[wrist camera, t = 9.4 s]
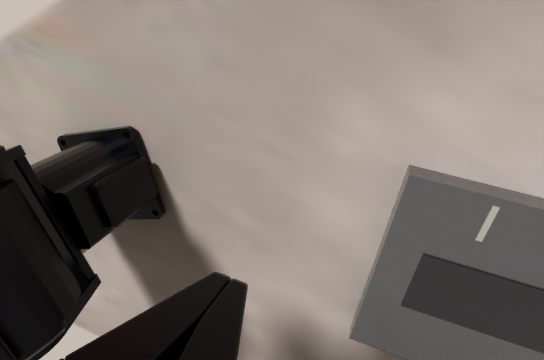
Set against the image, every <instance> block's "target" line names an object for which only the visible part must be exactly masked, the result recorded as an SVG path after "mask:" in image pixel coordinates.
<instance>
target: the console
mask: <svg viewBox="0 0 544 360" xmlns="http://www.w3.org/2000/svg"><path fill="white" fill-rule="evenodd" d="M350 339H353V340H355V341H358V342H361V343H363V344H366V345H369V346H372V347H374V348H377V349H380V350H383V351H385V352H388V353H391V354H394V355H396V356H399V357H402V358H405V359H407V360H544V199H542V198H538V197H535V196H531V195H527V194H523V193H519V192H515V191H511V190H507V189H503V188H499V187H495V186H491V185H487V184H483V183H479V182H475V181H471V180H467V179H463V178H459V177H455V176H451V175H447V174H443V173H439V172H435V171H431V170H427V169H423V168H419V167H415V166H411V165H409V167H408V170H407V172H406V175H405V178H404V181H403V183H402V186H401V189H400V192H399V194H398V197H397V200H396V203H395V206H394V208H393V211H392V214H391V217H390V219H389V222H388V225H387V228H386V230H385V233H384V236H383V239H382V242H381V244H380V247H379V250H378V253H377V255H376V258H375V261H374V264H373V267H372V269H371V272H370V275H369V278H368V280H367V283H366V286H365V289H364V291H363V294H362V297H361V300H360V303H359V305H358V308H357V311H356V314H355V316H354V319H353V322H352V326H351V332H350Z"/></svg>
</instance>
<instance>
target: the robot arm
mask: <svg viewBox="0 0 544 360" xmlns="http://www.w3.org/2000/svg"><path fill="white" fill-rule="evenodd" d="M128 133H129V135H130V137H129V136H128ZM57 142H58V145H59V147H60V149H61V152H59V153H57V154H54V155H52V156H50V157H48V158H46V159H43V160H41V161H39V162H37V163H35V164H32V165H30V164H29V162H28V161H27V159H26V157H25V155H26V153H25V152H24V150H23V148H22V147H21V145H18V146H15V147H12V148H8V149H5V148H4V146H1V145H0V360H38V359H40V358H41V357H43V356H44V355H45V354H46V353H48V352H49V351H50V350H51V349H52V348H53V347H54V346H55V345H56V344H57V343H58V342H59V341H60V340H61V339H62V338H63V336H64V335H65V334H66V332H67V331H68V329H69V328H70V327H71V325H72V324H73V322H74V321H75V319H76V318H77V316H78V315H79V314H80V312H81V311H82V309H83V308H84V306H85V305H86V303H87V302H88V300H89V299H90V298H91V296H92V295H93V293H94V292H95V290H96V289H97V287H98V286H99V285H100V283H101V281H100V279H99V277H98V275H97V274H94V272H93V270H92V269H91V267H90V265H89V264H88V262H87V260H86V259H85V257H84V255H83V253H84V252H86V251H87V250H88V249H90V248H91V247H93V246H94V245H95V244H96V243H98V242H99V241H100V240H101V239H103V238H104V237H105V236H106V235H108V234H109V233H110V232H111V231H113V230H114V229H115V228H117V227H119V226H120V225H121V224H122V223H124V222H125V221H126V220H127V219H160V218H161V217H162V216H163V215H164V214H165V209H164V206H163V203H162V201H161V198H160V195H159V192H158V189H157V187H156V184H155V181H154V178H153V176H152V173H151V170H150V167H149V165H148V162H147V159H146V156H145V153H144V151H143V148H142V145H141V142H140V140H139V137H138V134H137V132H136V130H135V129H134V128H133V127H131V126H126V127H118V128H110V129H102V130H95V131H87V132H79V133H71V134H65V135H62V136H60V137H58V139H57ZM156 210H157V211H158V212H157V211H156ZM247 289H248V285H247V284H246V283H244V282H242V281H239V280H237V279H231V278H230V277H229V276H226V275H224V274H221V273H219V272H213V273H211V274H210V275H208V276H206V277H204V278H202V279H201V280H199V281H197V282H195V283H194V284H192V285H190V286H188V287H187V288H185V289H183V290H181V291H180V292H178V293H176V294H174V295H173V296H171V297H169V298H167V299H166V300H164V301H162V302H160V303H158V304H157V305H155V306H153V307H151V308H150V309H148V310H146V311H144V312H143V313H141V314H139V315H137V316H136V317H134V318H132V319H130V320H129V321H127V322H125V323H123V324H122V325H120V326H118V327H116V328H115V329H113V330H111V331H109V332H107V333H106V334H104V335H102V336H100V337H99V338H97V339H95V340H93V341H92V342H90V343H88V344H86V345H85V346H83V347H81V348H79V349H78V350H76V351H74V352H72V353H71V354H69V355H67V356H66V357H65V360H237V356H238V349H239V342H240V336H241V329H242V322H243V315H244V309H245V302H246V295H247ZM60 360H64V359H60Z"/></svg>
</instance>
